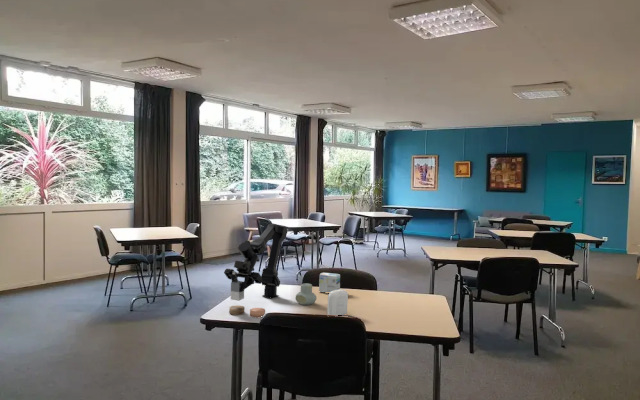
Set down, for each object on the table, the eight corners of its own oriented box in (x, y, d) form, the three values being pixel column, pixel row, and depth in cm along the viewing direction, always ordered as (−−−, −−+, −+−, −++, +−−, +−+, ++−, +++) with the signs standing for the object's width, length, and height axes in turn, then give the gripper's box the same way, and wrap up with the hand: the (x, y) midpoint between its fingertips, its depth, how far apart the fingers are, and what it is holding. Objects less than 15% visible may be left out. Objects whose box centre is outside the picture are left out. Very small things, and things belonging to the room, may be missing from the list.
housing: (235, 297, 208) (236, 280, 208) (243, 298, 206) (244, 281, 206) (230, 299, 204) (231, 282, 203) (238, 300, 202) (239, 283, 202)
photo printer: (343, 312, 213) (344, 287, 212) (348, 315, 209) (349, 289, 208) (325, 315, 207) (326, 289, 206) (330, 318, 203) (332, 292, 203)
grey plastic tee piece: (292, 303, 225) (293, 284, 225) (302, 300, 232) (303, 281, 232) (309, 307, 219) (309, 287, 218) (318, 304, 225) (319, 285, 225)
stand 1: (237, 309, 210) (237, 304, 210) (247, 312, 206) (247, 307, 206) (226, 312, 205) (226, 307, 205) (236, 316, 201) (236, 310, 200)
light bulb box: (339, 292, 251) (340, 274, 250) (336, 295, 245) (336, 276, 244) (322, 290, 255) (323, 271, 254) (318, 292, 248) (319, 274, 248)
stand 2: (257, 311, 208) (257, 306, 208) (268, 315, 204) (268, 309, 204) (246, 315, 202) (246, 310, 202) (257, 318, 198) (257, 313, 198)
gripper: (226, 252, 211) (212, 279, 202) (260, 255, 204) (247, 284, 195) (235, 265, 219) (221, 291, 209) (267, 269, 212) (255, 297, 202)
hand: (235, 291), depth 204 cm, fingers closed on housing, 4 cm apart
